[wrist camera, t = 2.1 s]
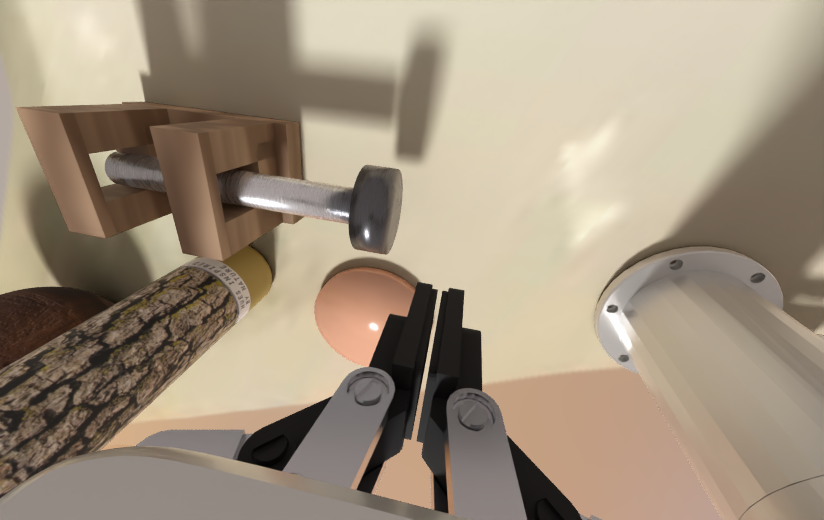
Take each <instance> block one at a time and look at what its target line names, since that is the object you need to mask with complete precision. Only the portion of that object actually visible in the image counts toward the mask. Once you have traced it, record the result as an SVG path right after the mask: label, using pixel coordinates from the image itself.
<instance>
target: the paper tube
mask: <svg viewBox="0 0 824 520" xmlns="http://www.w3.org/2000/svg"><path fill="white" fill-rule="evenodd" d="M271 285H272V274H271V270H270V267H269V265H268V263H267V262H266V260H265V259H264V258H263V257H262V255H261V254H260V253H258V252H257V251H256V250H255V249H253V248H251V247H250V246H248V245H247V246H245V247H244V248H242V249H241V250H239V251H238V252H236V253H235V254H233V255H232V256H230V257H229V258H227V259H225V260H224V261H220V260H215V259H210V258H205V257H200V256H198V257H197V258H195V259H193V260H191V261H189V262H187V263H186V264H184V265H182V266H180V267H179V268H177V269H175V270H174V271H172V272H170V273H168V274H167V275H165V276H163V277H161V278H160V279H158V280H156V281H154V282H153V283H151V284H149V285H147V286H146V287H144V288H142V289H140V290H139V291H137V292H135V293H133V294H132V295H130V296H128V297H127V298H125V299H123V300H121V301H120V302H118V303H116V304H114V305H113V306H111V307H109V308H107V309H106V310H104V311H102V312H100V313H99V314H97V315H95V316H93V317H92V318H90V319H88V320H86V321H85V322H83V323H81V324H80V325H78V326H76V327H74V328H73V329H71V330H69V331H67V332H66V333H64V334H62V335H60V336H59V337H57V338H55V339H53V340H52V341H50V342H48V343H46V344H45V345H43V346H41V347H39V348H38V349H36V350H34V351H33V352H31V353H29V354H27V355H26V356H24V357H22V358H20V359H19V360H17V361H15V362H13V363H12V364H10V365H8V366H6V367H5V368H3V369H1V370H0V498H1V497H3V496H4V495H5V494H7V493H8V492H10V491H11V490H13V489H14V488H15V487H17V486H18V485H20V484H21V483H23V482H24V481H26V480H27V479H29V478H31V477H32V476H34V475H35V474H37V473H39V472H41V471H43V470H44V469H46V468H48V467H50V466H52V465H54V464H57V463H59V462H62V461H64V460H67V459H70V458H73V457H76V456H80V455H83V454H88V453H92V452H96V451H100V450H101V449H103V448H104V447H105V446H106V445H107V444H108V443H109V442H110V441H111V440H112V439H113V438H114V437H115V436H116V435H117V434H119V433H120V432H121V431H122V430H123V429H124V428H125V427H126V426H127V425H128V424H129V423H130V422H131V421H132V420H133V419H135V418H136V417H137V416H138V415H139V414H140V413H141V412H142V411H143V410H144V409H145V408H146V407H147V406H148V405H149V404H151V403H152V402H153V401H154V400H155V399H156V398H157V397H158V396H159V395H160V394H161V393H162V392H163V391H164V390H166V389H167V388H168V387H169V386H170V385H171V384H172V383H173V382H174V381H175V380H176V379H177V378H178V377H179V376H180V375H182V374H183V373H184V372H185V371H186V370H187V369H188V368H189V367H190V366H191V365H192V364H193V363H194V362H195V361H196V360H198V359H199V358H200V357H201V356H202V355H203V354H204V353H205V352H206V351H207V350H208V349H209V348H210V347H211V346H212V345H214V344H215V343H216V342H217V341H218V340H219V339H220V338H221V337H222V336H223V335H224V334H225V333H226V332H227V331H229V330H230V329H231V328H232V327H233V326H234V325H235V324H236V323H237V322H238V321H239V320H240V319H241V318H242V317H243V316H245V315H246V313H247V312H248V311H249V310H251V309H252V308H253V307H254V306H255V305H256V304H257V303H258V302H259V301H260V300H261V299H262V298H263V297H264V296H266V295H267V293H268V292H269V290H270V288H271Z"/></svg>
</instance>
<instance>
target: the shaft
mask: <svg viewBox="0 0 824 520" xmlns="http://www.w3.org/2000/svg"><path fill="white" fill-rule="evenodd" d="M105 171H106V174H107V176H108V177H109V179H110V180H112V181H113V182H114V183H116V184H119V185H124V186H130V187H136V188H142V189H148V190H153V191H159V192H165V193H167V192H166V188H165V184H164V180H163V176H162V172H161V169H160V165H159V161H158V157H152V156H146V155H140V154H133V153H127V152H114V153H112V154H110V155H109V156H108V158H107V159H106V162H105ZM216 176H217V182H218V187H219V193H220V198H221V202H224V203H230V204H235V205H241V206H247V207H253V208H259V209H265V210H271V211H277V212H282V213H288V214H294V215H300V216H306V217H312V218H318V219H323V220H329V221H335V222H341V223H347V224H349V236H350V241H351V244H352V246H353V247H354V249H357V250H363V251H368V252H374V253H379V254H385V255H386V254H388V253H389V251H390V250H391V247H392V245H393V242H394V239H395V236H396V233H397V228H398V224H399V219H400V212H401V205H402V191H403V184H402V175H401V171H400V170H399V169H393V168H387V167H380V166H373V165H365V166H364V167H363V168H362V169H361V171H360V172H359V174H358V176H357V179H356V182H355V185H354V188H351V187H344V186H338V185H331V184H325V183H319V182H312V181H306V180H299V179H293V178H287V177H280V176H274V175H268V174H261V173H255V172H248V171H242V170H236V169H231V170H228V171H225V172H221V173H218V174H216Z"/></svg>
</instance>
